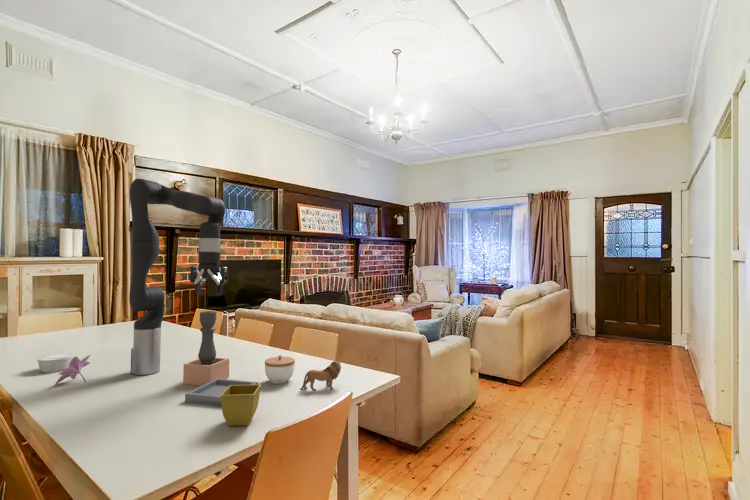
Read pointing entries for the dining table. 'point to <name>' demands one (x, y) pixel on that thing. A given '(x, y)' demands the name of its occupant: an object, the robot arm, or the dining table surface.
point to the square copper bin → (205, 371)
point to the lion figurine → (322, 375)
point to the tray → (213, 391)
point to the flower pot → (240, 403)
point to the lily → (74, 368)
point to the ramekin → (55, 362)
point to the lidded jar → (279, 369)
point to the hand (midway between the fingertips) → (208, 294)
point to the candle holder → (207, 338)
